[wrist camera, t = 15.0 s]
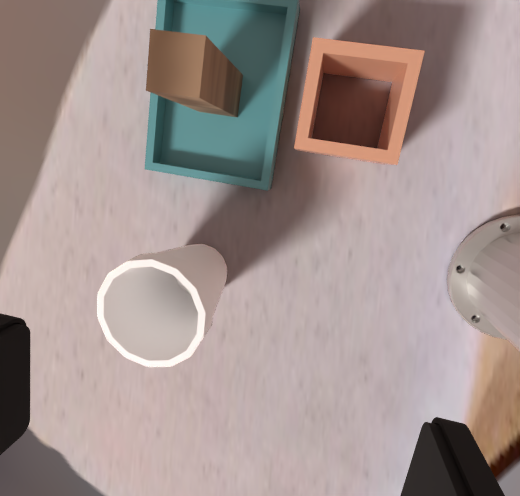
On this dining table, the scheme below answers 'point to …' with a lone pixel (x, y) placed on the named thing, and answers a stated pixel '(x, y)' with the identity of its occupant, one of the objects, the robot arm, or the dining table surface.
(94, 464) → the dining table surface
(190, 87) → the walnut stick
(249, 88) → the tray
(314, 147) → the holder cup
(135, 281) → the foam cup
